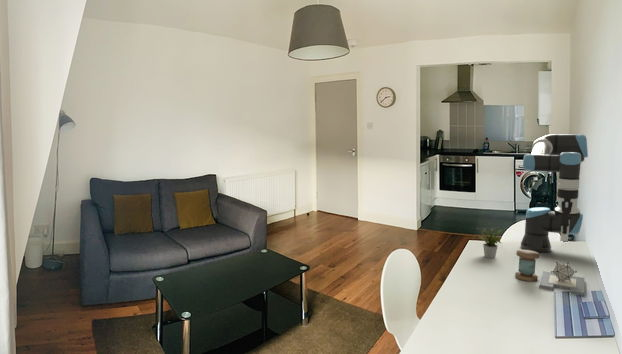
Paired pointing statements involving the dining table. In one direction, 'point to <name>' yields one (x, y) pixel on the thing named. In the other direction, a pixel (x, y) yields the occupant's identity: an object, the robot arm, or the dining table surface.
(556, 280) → the notched board
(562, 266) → the game die
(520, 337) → the dining table surface
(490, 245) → the house plant
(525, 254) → the bobbin
